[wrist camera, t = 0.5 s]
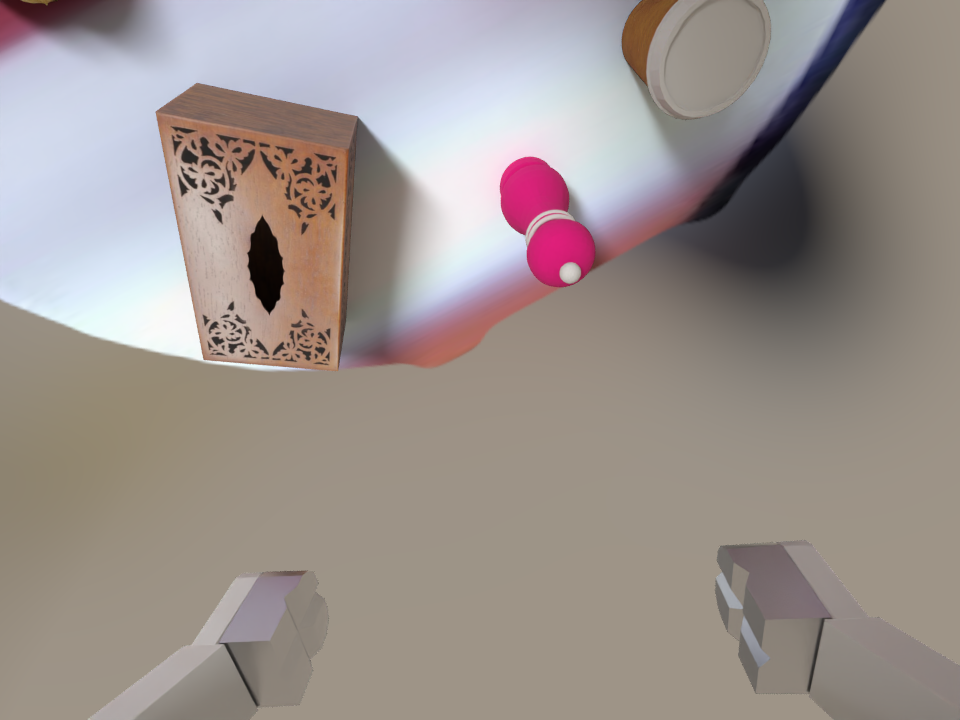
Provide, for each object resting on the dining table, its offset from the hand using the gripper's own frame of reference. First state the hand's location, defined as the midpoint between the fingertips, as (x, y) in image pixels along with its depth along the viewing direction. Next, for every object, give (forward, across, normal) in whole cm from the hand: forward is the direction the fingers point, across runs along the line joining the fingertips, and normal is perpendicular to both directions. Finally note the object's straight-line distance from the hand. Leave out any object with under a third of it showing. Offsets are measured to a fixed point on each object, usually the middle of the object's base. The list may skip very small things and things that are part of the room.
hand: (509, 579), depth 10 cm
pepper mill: (+50, -2, -5) cm, 51 cm away
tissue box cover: (+47, +25, -4) cm, 54 cm away
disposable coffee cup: (+48, -16, -17) cm, 53 cm away
